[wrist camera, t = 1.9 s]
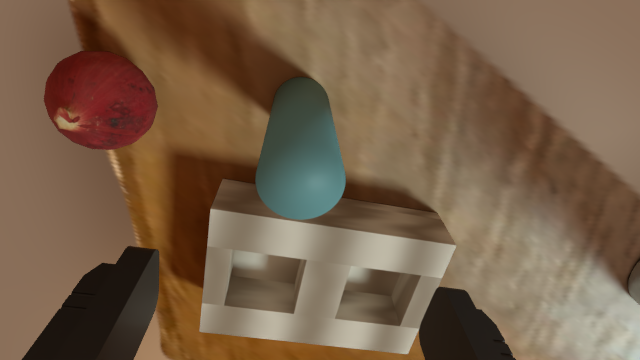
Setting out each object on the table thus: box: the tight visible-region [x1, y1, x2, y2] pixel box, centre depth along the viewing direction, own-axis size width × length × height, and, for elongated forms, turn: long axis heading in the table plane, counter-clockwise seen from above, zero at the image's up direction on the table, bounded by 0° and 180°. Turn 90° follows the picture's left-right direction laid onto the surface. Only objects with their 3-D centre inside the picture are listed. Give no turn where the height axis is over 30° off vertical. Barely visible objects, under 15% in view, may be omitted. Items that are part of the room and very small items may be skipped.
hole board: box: [200, 179, 457, 354], centre depth 32 cm, size 18×12×4 cm, turn 78°
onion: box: [44, 51, 158, 150], centre depth 23 cm, size 6×6×8 cm
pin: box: [255, 77, 346, 220], centre depth 22 cm, size 4×4×12 cm
